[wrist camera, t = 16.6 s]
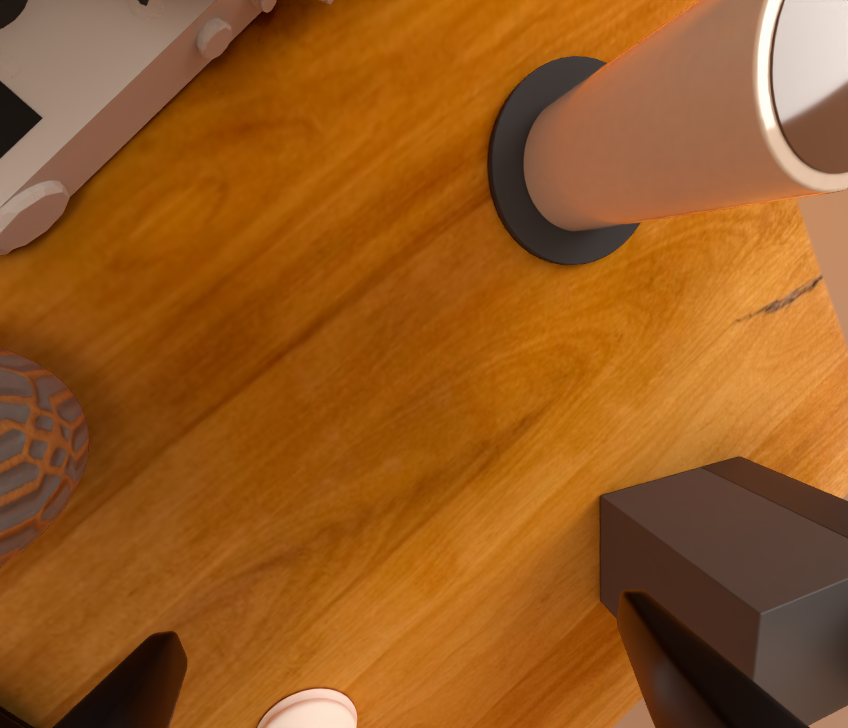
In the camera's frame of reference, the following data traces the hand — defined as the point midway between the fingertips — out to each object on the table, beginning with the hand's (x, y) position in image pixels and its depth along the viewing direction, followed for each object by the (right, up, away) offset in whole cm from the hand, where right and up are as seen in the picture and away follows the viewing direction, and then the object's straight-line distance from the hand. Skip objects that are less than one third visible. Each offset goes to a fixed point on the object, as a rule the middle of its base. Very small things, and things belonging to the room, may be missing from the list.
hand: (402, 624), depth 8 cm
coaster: (+7, +14, +10) cm, 19 cm away
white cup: (+7, +14, +10) cm, 18 cm away
